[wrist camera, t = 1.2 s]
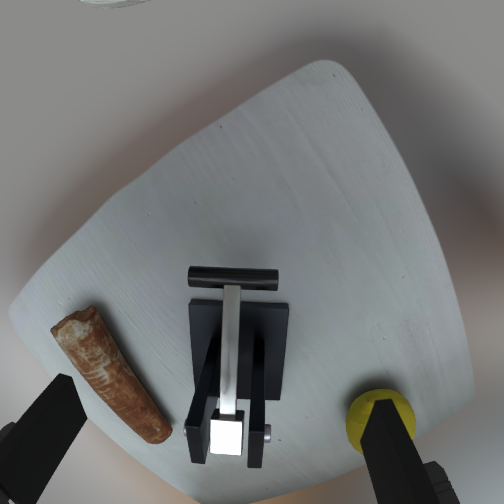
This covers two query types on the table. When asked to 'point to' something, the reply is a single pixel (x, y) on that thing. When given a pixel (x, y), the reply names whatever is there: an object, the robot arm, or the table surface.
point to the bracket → (249, 370)
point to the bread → (109, 373)
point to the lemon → (363, 408)
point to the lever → (230, 346)
